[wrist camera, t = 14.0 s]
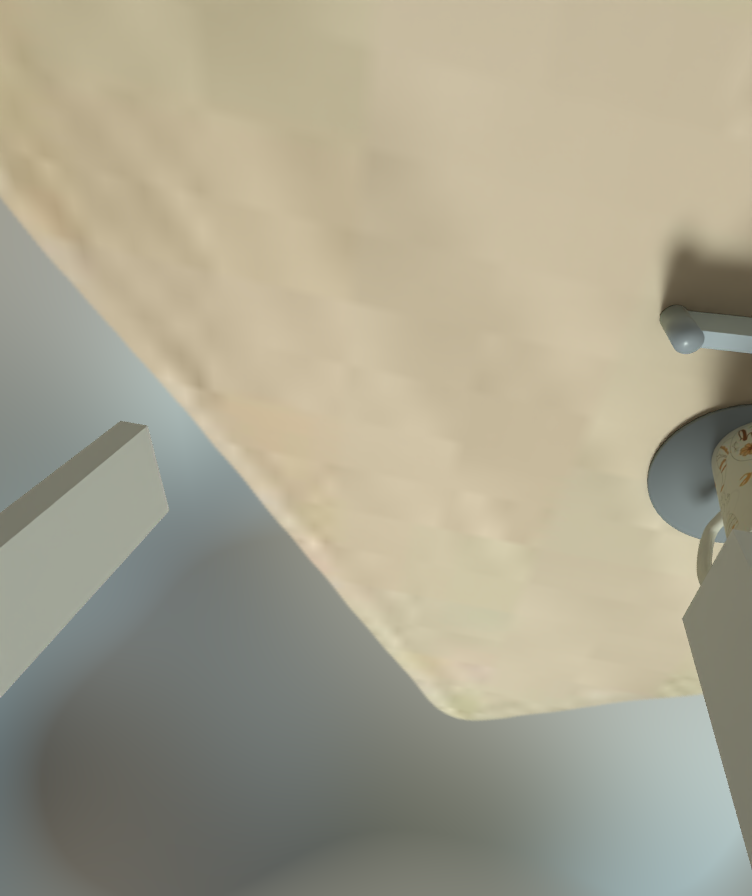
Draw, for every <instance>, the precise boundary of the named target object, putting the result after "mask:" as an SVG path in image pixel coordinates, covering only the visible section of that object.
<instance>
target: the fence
mask: <svg viewBox="0 0 752 896" xmlns="http://www.w3.org/2000/svg"><path fill="white" fill-rule="evenodd" d="M660 324H661V325H662V327H663V329H664V331H665V333H666V334H667V336H668V338H669V340H670V342H671V344H672V345H673V347H674V349H675V350H676V351H677V352H679V353H682V354H689V353H693V352H695V351H697V350H698V349H699V348H708V349H716V350H725V351H734V352H742V353H751V354H752V318H751V317H742V316H732V315H723V314H713V313H703V312H694V311H687V309H686V308H685V307H683V306H681V305H672V306H670V307H668V308H666V309H665V310H664V311H663V312H662V313H661V315H660Z"/></svg>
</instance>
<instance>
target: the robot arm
mask: <svg viewBox="0 0 752 896" xmlns="http://www.w3.org/2000/svg"><path fill="white" fill-rule="evenodd" d="M167 512H169V508H168V503H167V499H166V496H165V492H164V488H163V484H162V480H161V476H160V472H159V468H158V465H157V461H156V457H155V453H154V449H153V445H152V441H151V437H150V434H149V429H148V426H146V425H140V424H134V423H129V422H123V421H120V422H119V423H117V424H116V425H115V426H113V427H112V428H111V429H109V430H108V431H107V432H105V433H104V434H103V435H102V436H100V437H99V438H98V439H97V440H95V441H94V442H92V443H91V444H90V445H89V446H87V447H86V448H85V449H83V450H82V451H81V452H80V453H78V454H77V455H75V456H74V457H73V458H71V459H70V460H69V461H67V462H66V463H65V464H64V465H62V466H61V467H60V468H58V469H57V470H56V471H54V472H53V473H52V474H50V475H49V476H48V477H47V478H45V479H44V480H43V481H41V482H40V483H39V484H38V485H36V486H35V487H33V488H32V489H31V490H30V491H28V492H27V493H26V494H24V495H23V496H22V497H20V498H19V499H18V500H17V501H15V502H14V503H12V504H11V505H10V506H9V507H7V508H6V509H5V510H3V511H2V512H1V513H0V698H1V696H2V695H3V694H4V693H5V692H6V691H7V690H8V689H9V688H10V687H11V685H12V684H13V683H14V682H15V681H16V680H17V679H18V678H19V676H20V675H21V674H22V673H23V672H24V671H25V670H26V669H27V668H28V667H29V665H30V664H31V663H32V662H33V661H34V660H35V659H36V658H37V657H38V656H39V654H40V653H41V652H42V651H43V650H44V649H45V648H46V647H47V646H48V644H49V643H50V642H51V641H52V640H53V639H54V638H55V637H56V636H57V635H58V633H59V632H60V631H61V630H62V629H63V628H64V626H66V625H67V623H68V622H69V621H70V620H71V619H72V618H73V617H74V616H75V615H76V613H77V612H78V611H79V610H80V609H81V608H82V607H83V606H84V605H85V603H86V602H87V601H88V600H89V599H90V598H91V597H92V596H93V595H94V593H95V592H96V591H97V590H98V589H99V588H100V587H101V586H102V585H103V584H104V582H105V581H106V580H107V579H108V578H109V577H110V576H111V575H112V573H113V572H114V571H115V570H116V569H117V568H118V567H119V566H120V565H121V563H122V562H123V561H124V560H125V559H126V558H127V557H128V556H129V555H130V554H131V553H132V551H133V550H134V549H135V548H136V547H137V546H138V545H139V544H140V542H141V541H142V540H143V539H144V538H145V537H146V536H147V535H148V533H150V531H151V530H152V529H153V528H154V527H155V526H156V525H157V524H158V523H159V521H160V520H161V519H162V518H163V517H164V516H165V515H166V514H167ZM682 619H683V623H684V627H685V630H686V634H687V637H688V641H689V645H690V648H691V652H692V655H693V659H694V663H695V666H696V670H697V673H698V677H699V681H700V684H701V688H702V691H703V695H704V699H705V702H706V706H707V709H708V713H709V717H710V720H711V724H712V727H713V731H714V735H715V738H716V742H717V745H718V749H719V752H720V756H721V760H722V763H723V767H724V771H725V774H726V778H727V781H728V785H729V788H730V792H731V796H732V799H733V803H734V806H735V810H736V814H737V817H738V821H739V824H740V828H741V832H742V835H743V838H744V842H745V846H746V850H747V853H748V857H749V860H750V864H751V868H752V532H746V531H740V530H735V529H732V531H731V532H730V534H729V536H728V538H727V540H726V541H725V543H724V545H723V547H722V548H721V550H720V552H719V554H718V556H717V557H716V559H715V561H714V563H713V565H712V566H711V568H710V570H709V572H708V573H707V575H706V577H705V579H704V581H703V582H702V584H701V586H700V588H699V590H698V591H697V593H696V595H695V597H694V598H693V600H692V602H691V604H690V606H689V607H688V609H687V611H686V613H685V615H684V616H683V618H682Z"/></svg>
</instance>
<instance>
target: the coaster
mask: <svg viewBox="0 0 752 896" xmlns="http://www.w3.org/2000/svg"><path fill="white" fill-rule="evenodd" d="M751 422H752V404H747V405H738V406H733V407H728V408H724V409H720V410H717V411H714V412H711V413H708V414H706V415H704V416H701V417H699V418H697V419H695V420H693V421H691V422H690V423H688V424H686V425H685V426H683V427H682V428H680V429H679V430H677V431H676V432H675V433H674V434H673V435H672V436H670V437H669V438H668V439H667V440H666V441H665V442H664V444H663V445H662V446H661V447H660V448H659V450H658V451H657V453H656V454H655V456H654V458H653V460H652V462H651V465H650V468H649V471H648V479H647V484H648V492H649V496H650V500H651V502H652V504H653V506H654V508H655V510H656V511H657V513H658V514H659V515H660V516H661V517H662V518H663V520H664V521H666V522H667V523H668V524H669V525H671V526H672V527H674V528H675V529H677V530H678V531H680V532H682V533H685V534H687V535H689V536H692V537H695V538H698V539H701V537H702V534H703V531H704V529H705V527H706V526H707V524H708V523H709V522H710V521H711V520H712V519H713V518H714V517H715V516H716V515H717V513H718V512H720V511H721V510H720V506H719V501H718V496H717V491H716V487H715V482H714V477H713V472H712V465H711V460H712V455H713V452H714V450H715V448H716V446H717V445H718V443H719V442H720V441H721V440H722V439H723V438H724V437H725V436H726V435H727V434H729V433H730V432H731V431H733V430H735V429H737V428H738V427H741V426H743V425H745V424H748V423H751ZM726 540H727V539H726V534H725V529H724V526H723V527H722V528H721V529H720V531H719V532H718V534H717V536H716V538H715V541H714V542H719V543H725V541H726Z"/></svg>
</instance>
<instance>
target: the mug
mask: <svg viewBox="0 0 752 896" xmlns="http://www.w3.org/2000/svg"><path fill="white" fill-rule="evenodd" d="M711 465H712V472H713V477H714V482H715V487H716V491H717V496H718V501H719V506H720V510H721V511H720V512H718V513H717V515H716V516H715V517H714V518H713V519H712V520H711V521H710V522H709V523H708V524H707V526H706V527H705V529H704V531H703V534H702V537H701V540H700V544H699V549H698V555H697V576H698V580H699V583H700V586H701V584H702V582H703V581H704V579H705V577H706V575H707V573H708V572H709V570H710V568H711V566H712V553H713V546H714V541H715V538H716V536H717V534H718V532H719V531H720V529H721V528H722V527H723V526H724V529H725V534H726V539H727V538H728V536H729V534H730V532H731V531H732V529H735V530H740V531H746V532H752V422H751V423H748V424H745V425H743V426H741V427H738V428H737V429H735V430H733V431H731V432H730V433H729V434H727V435H726V436H725V437H724V438H723V439H722V440H721V441H720V442H719V443H718V445H717V446H716V448H715V450H714V452H713V455H712V460H711Z"/></svg>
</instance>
